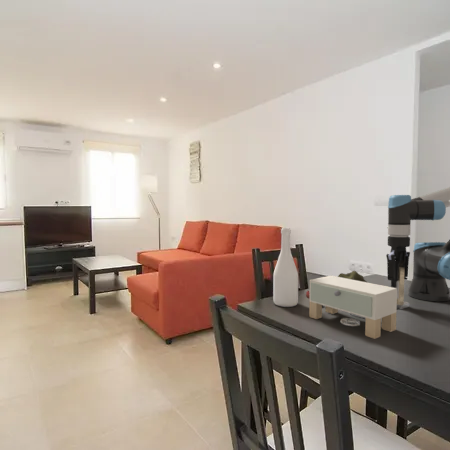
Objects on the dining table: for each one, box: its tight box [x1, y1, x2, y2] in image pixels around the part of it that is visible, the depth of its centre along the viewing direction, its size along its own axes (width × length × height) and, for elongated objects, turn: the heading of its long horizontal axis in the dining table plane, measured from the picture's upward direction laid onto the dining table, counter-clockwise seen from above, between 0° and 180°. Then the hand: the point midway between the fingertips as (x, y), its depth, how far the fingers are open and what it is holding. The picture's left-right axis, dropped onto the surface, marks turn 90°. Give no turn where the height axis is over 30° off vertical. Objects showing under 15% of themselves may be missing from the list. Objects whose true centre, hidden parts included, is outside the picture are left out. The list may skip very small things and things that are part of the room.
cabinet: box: [308, 275, 398, 340], centre depth 109 cm, size 14×24×13 cm, turn 36°
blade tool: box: [349, 267, 410, 320], centre depth 121 cm, size 26×10×15 cm, turn 126°
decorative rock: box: [337, 270, 367, 282], centre depth 145 cm, size 15×16×10 cm
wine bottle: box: [272, 227, 299, 308], centre depth 130 cm, size 10×10×30 cm
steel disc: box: [340, 317, 361, 327], centre depth 109 cm, size 6×6×1 cm
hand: (397, 296), depth 127 cm, fingers closed on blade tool, 3 cm apart
